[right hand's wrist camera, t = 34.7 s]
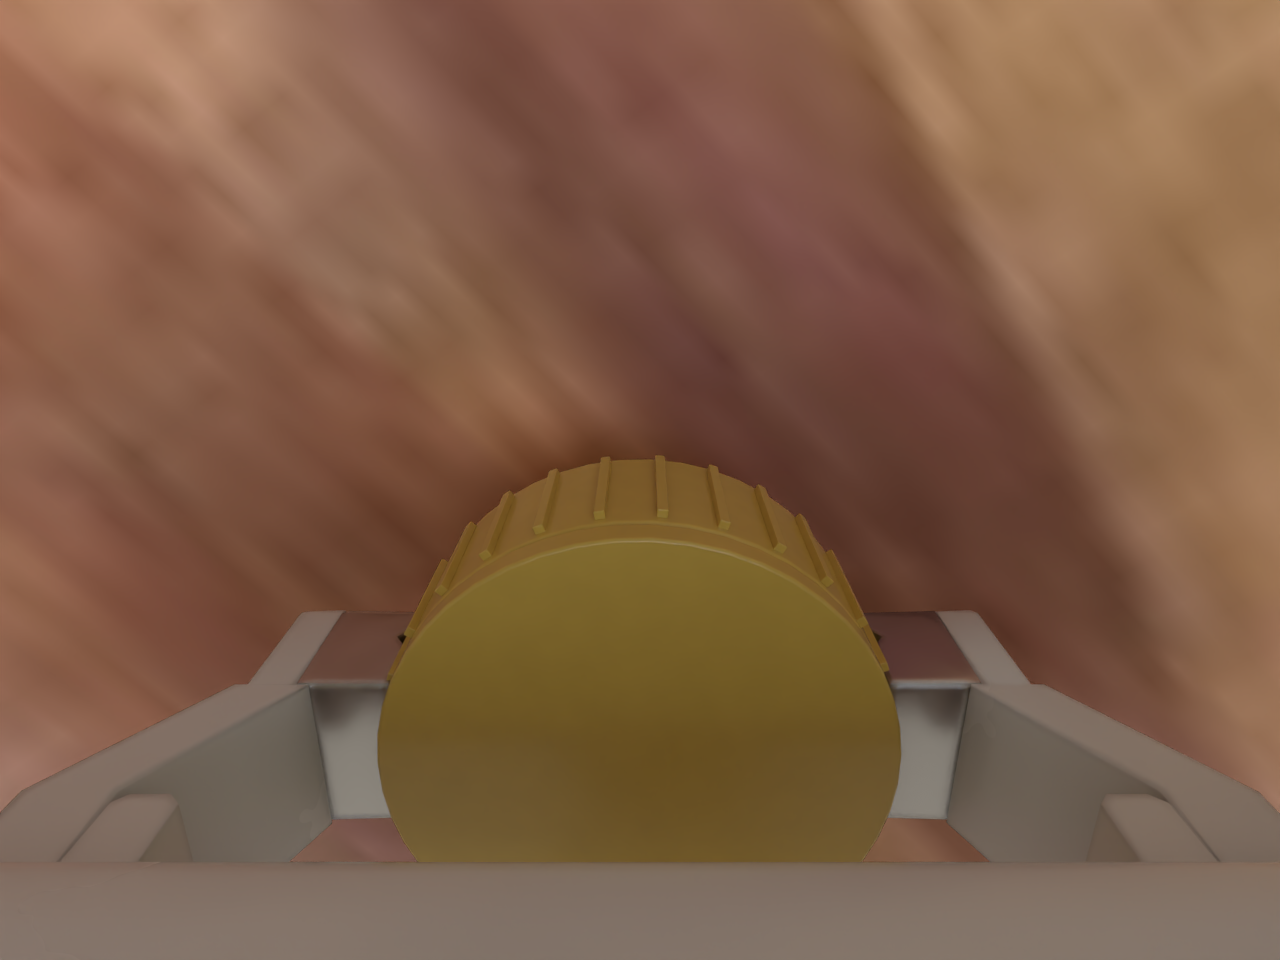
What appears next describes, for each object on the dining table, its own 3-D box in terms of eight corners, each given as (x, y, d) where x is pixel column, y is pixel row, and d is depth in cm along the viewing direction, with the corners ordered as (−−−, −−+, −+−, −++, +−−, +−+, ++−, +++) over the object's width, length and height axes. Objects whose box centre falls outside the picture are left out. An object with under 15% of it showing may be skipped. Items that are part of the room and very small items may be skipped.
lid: (557, 876, 12) (539, 1024, 10) (334, 572, 10) (257, 677, 8) (920, 732, 11) (983, 863, 9) (746, 369, 9) (775, 430, 7)
